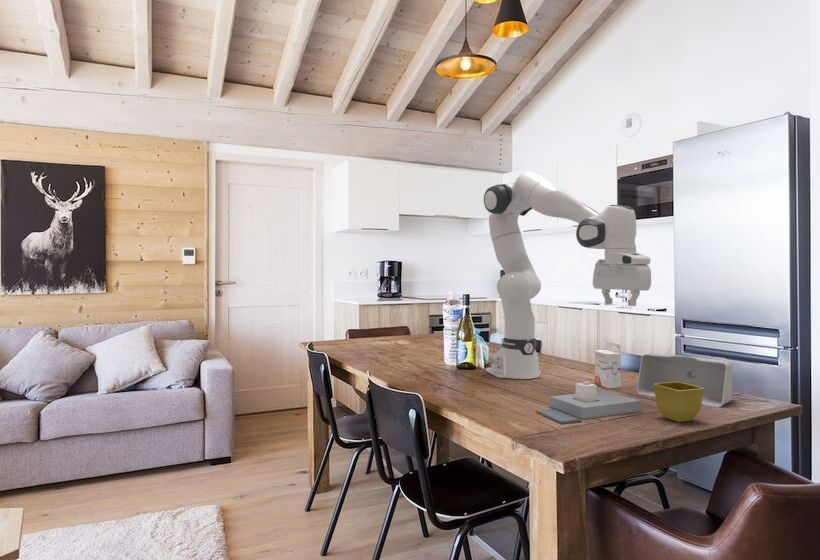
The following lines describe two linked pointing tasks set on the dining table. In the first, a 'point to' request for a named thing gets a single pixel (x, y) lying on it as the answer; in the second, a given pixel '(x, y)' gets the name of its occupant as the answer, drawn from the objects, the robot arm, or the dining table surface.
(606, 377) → the ink cartridge box
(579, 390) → the block
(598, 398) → the outlet board
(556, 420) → the phone slab
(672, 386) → the flower pot
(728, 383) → the tank
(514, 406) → the dining table surface
